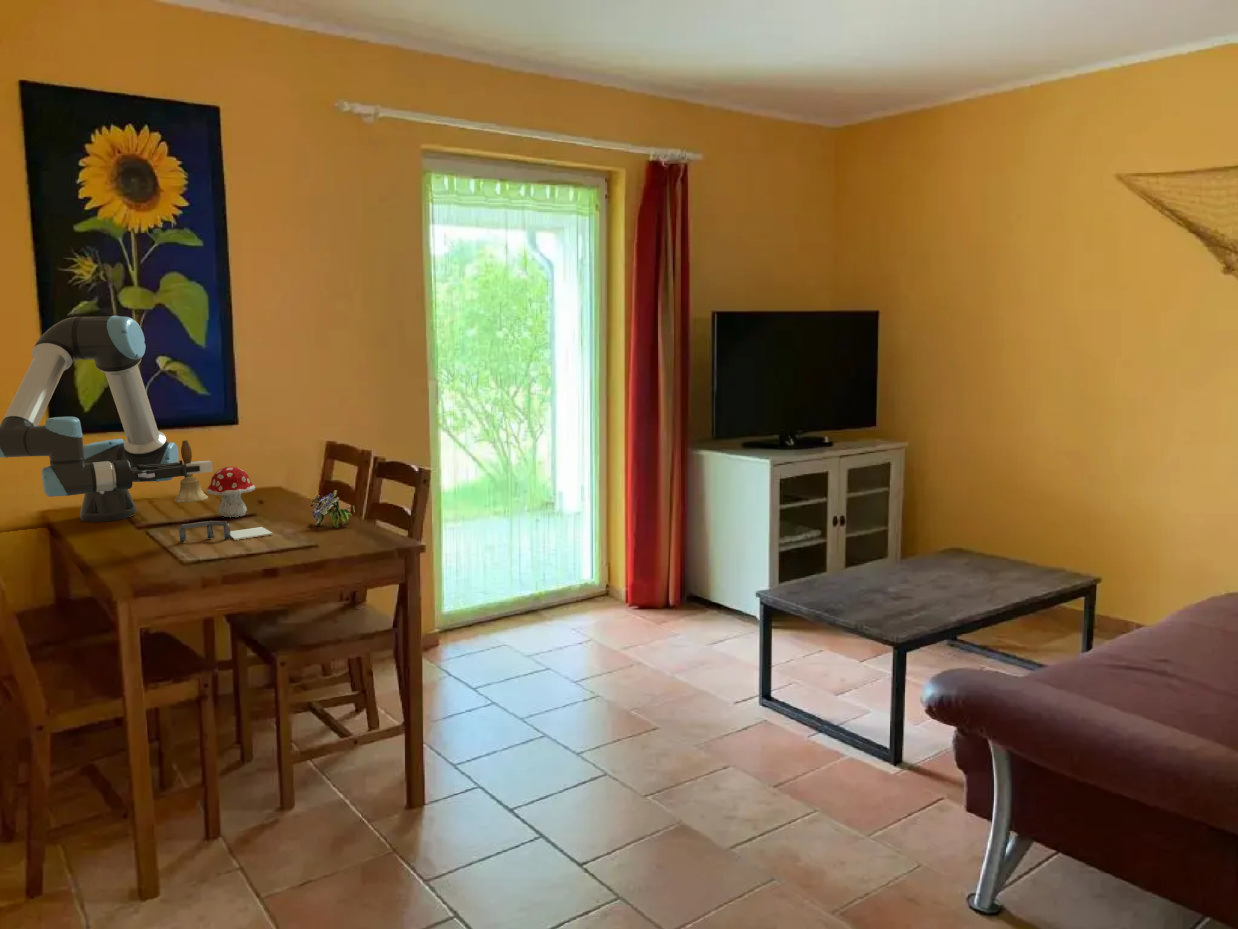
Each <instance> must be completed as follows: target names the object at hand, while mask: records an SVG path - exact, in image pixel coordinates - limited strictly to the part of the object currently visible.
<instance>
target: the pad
mask: <svg viewBox="0 0 1238 929" xmlns="http://www.w3.org/2000/svg"><path fill="white" fill-rule="evenodd" d="M230 534H231V537H232V538H233V539H234V541H235V540H237V541H240V540H239V539H244V540H247V539H246V538H251V539H253V538H252V537H258V536H265V535H271V536H273V535H274V533H273V532H272V531H270V530H268V529H267V528H265V527H263V526H259V527H252V528H246V529H245V528H243V529H239V530H238V529H237V530H230ZM272 534H273V535H272ZM265 537H266V536H265ZM232 538H231V539H232ZM258 538H259V537H258ZM233 539H232V540H233Z"/></svg>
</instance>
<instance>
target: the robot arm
mask: <svg viewBox="0 0 1238 929" xmlns="http://www.w3.org/2000/svg"><path fill="white" fill-rule="evenodd" d="M145 341H146V340H145V335H144V332H143V330H142V328H141V326H140V325H139V323H138V322H137V321H136V320H135V319H133V318H131V317H129V316H119V315H111V316H72V317H68V318H65V319H62V320H60V321H58V322H57V323H55V324H53V325H52V326H51V327H49V328H48V329H47V330H46V331H45V332H44V333H43V334H42V335H41V336H40V337H39V338H38V340H37V341H36V343H35V344H34V347H33V348H32V351H31V356H32V358H33V359H32V360H31V363H30V364H29V366H28V369H27V370H26V372H25V374H24V376H23V379H22V380H21V383H20V385H19V386H18V389H17V391H16V393H15V395H14V397H13V399H12V401H11V403H10V405H9V406H8V408H7V410H6V412H5V415H4V417H3V419H2V421H1V422H0V458H4V459H5V458H7V459H8V458H19V457H20V458H23V457H49V466H45V467H43V468H41V481H42V488H43V489H42V490H43V492H44V494H45V495H46V496H48V497H69V496H76V495H77V496H78V495H83V494H84V496H83V500H82V504H81V507H80V512H79V516H80V521H82V522H88V523H103V522H113V521H119V520H120V521H121V520H125V519H129V518H128V517H129V516H131V515H134V514H135V513H136V512H137V510H138V509H137V505H136V503H135V502H134V500H133V497H132V495H131V493H130V491H129V490H130V489H131V488H132V487H133V483H142V482H143V483H145V482H151V483H152V482H156V483H159V482H165V481H166V482H168V481H170V480H173V478H177V477H184V478H186V477H187V474H192V475H193V474H195V475H196V474H205V473H213V472H214V469H213V461H211V460H202V461H201V460H199V461H191V464H184V461H183V459H182V460H179V449H178V448H179V447H178V445H177V444H176V443H175V442H172V441H169V442H168V439H167V436H166V435H165V433H163V432H162V431H159V430H158V429H159V428H158V426H157V422H156V420H155V416H154V413H153V410H152V407H151V403H150V400H149V398H148V393H147V390H146V387H145V384H144V380H143V378H142V375H141V371H140V369H139V364H140V363H141V361H142V358H143V356H144V355H145V353H146V348H147V346H146V343H145ZM79 360H80V361H81V360H84V361H85V360H89V361H91V360H93V361H94V364H95V366H96V369H97V370H98V371H100V372H102V373H104V374H105V377H106V380H107V383H108V387H109V389H110V392H111V395H112V397H113V401H114V404H115V406H116V409H117V413H118V415H119V419H120V423H121V424H122V428H123V431H124V434H125V436H126V437H125V438H126V440H125V441H124V439H123V438H113V439H106V440H102V441H100V440H99V441H95V442H91V443H87V444H85V445H84V438H83V437H84V434H83V431H82V425H81V424H82V423H81V421H80V419H79V418H78V417H75V416H55V417H49V418H47V419H46V420H45V424H42V425H40V423H41V420H42V419H43V417H44V414H45V411H46V410H47V407H48V405H49V404H50V401H51V399H52V396H53V394H54V393H55V390H56V388H57V386H58V384H59V382H60V379H61V377H62V375H63V373H64V372H65V371H66V370H68V369H70V367H71V366H72V364H73V363H74V362H75V361H79ZM137 513H138V512H137Z"/></svg>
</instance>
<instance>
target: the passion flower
mask: <svg viewBox="0 0 1238 929" xmlns="http://www.w3.org/2000/svg"><path fill="white" fill-rule="evenodd" d="M337 495H338V490H337V489H335V490H333V493H331V492H330V493H329V494H327V495H325V496H323V497H321V499H320V495H319V494H318V495H316V496H315V497H314V498H313V501H311V504H310V507H313V506H314V509H313V510H312V512H311V513H312V515H313V516H312V517H313V520H315V522H316V523H315V524H314V526H315V527H318V526H320V524H321V523H322V522H323V520H324V518H325V516H328V515H329V517H330V518H331V521H332V524H333V527H334V528H336V529H339V523H340V519H341V523H342V525H343V526H344V525H345V524H346V523H347V522H348V521H349V518H350V517H349V516H351V517H352V516H353V514H355V513H356V511H355V510H356V509H355V505H354V504H353V505H351V506H349V507H348V508H340V505H339V501H340V498H339V497H336V496H337ZM351 508H352V512H353V514H352V512H351V511H350V510H348V509H351ZM334 509H335V510H334Z"/></svg>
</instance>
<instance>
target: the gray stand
mask: <svg viewBox="0 0 1238 929" xmlns="http://www.w3.org/2000/svg"><path fill="white" fill-rule="evenodd" d="M228 522H229V521H227V520H209V521H208V520H207V521H199V522H192V523H184V524H181V525H180V526H181V527H179V528H178V534H179V535H178V537H179V543H180V542H184V541H186V542H187V534H186V532H187V531H186V529H192V528H199V527H200V528H201V527H206V536H207V539H208V538H215V536H214V535H215V534H214V526H216V527H217V526H218V527H219V526H222V527H223V537H224V538H225V539H229V538H231V534H230V531H231V524H230V523H228ZM225 539H224V540H225ZM231 539H232V538H231ZM229 540H230V539H229Z"/></svg>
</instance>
